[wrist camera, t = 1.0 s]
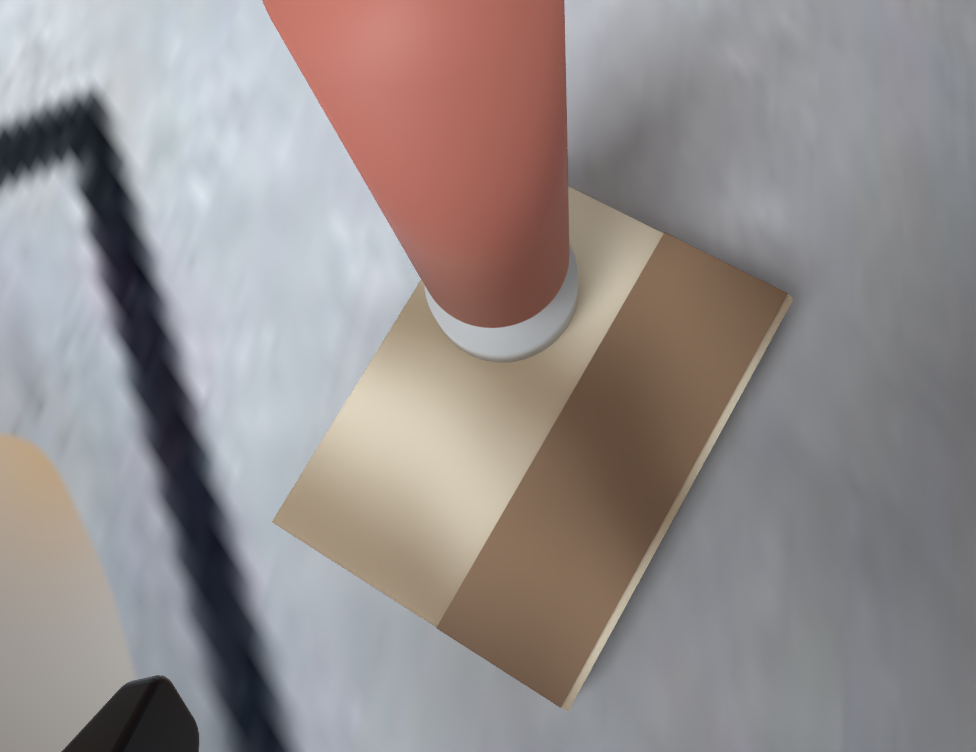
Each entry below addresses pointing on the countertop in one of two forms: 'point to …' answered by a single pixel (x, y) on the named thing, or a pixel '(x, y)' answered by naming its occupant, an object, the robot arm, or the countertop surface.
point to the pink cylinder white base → (456, 150)
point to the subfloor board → (539, 451)
